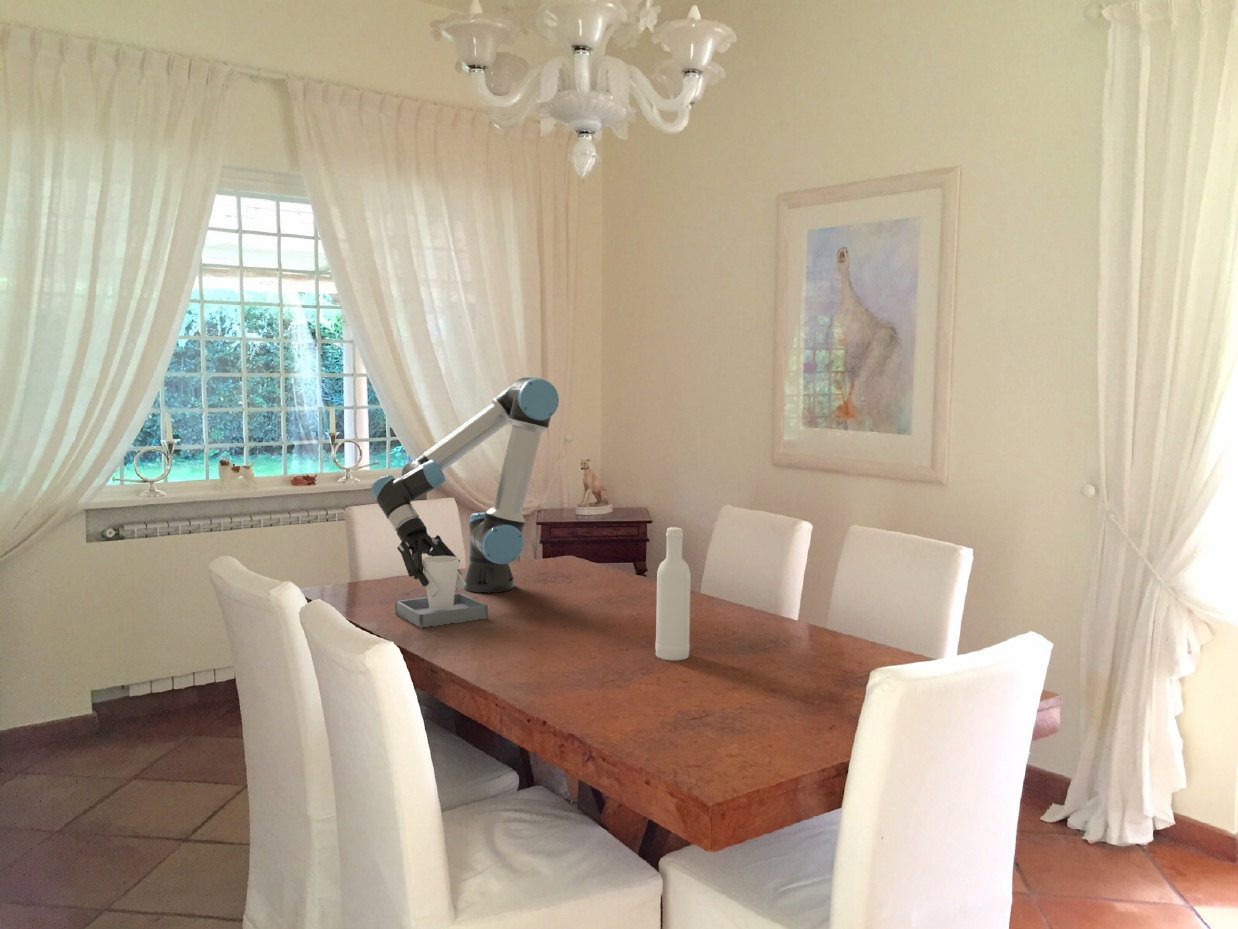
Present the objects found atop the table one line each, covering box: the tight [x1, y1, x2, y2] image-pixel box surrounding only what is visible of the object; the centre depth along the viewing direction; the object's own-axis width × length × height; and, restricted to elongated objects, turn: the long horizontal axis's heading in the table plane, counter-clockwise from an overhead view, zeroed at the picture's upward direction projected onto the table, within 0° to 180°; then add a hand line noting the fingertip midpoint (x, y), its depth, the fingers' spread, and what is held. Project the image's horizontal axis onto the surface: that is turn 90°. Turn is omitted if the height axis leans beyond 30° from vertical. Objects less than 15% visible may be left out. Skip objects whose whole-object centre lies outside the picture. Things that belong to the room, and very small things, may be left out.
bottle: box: [654, 526, 692, 662], centre depth 221 cm, size 8×8×30 cm
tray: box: [394, 592, 489, 628], centre depth 255 cm, size 19×17×4 cm
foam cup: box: [422, 556, 460, 610], centre depth 255 cm, size 10×9×13 cm
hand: (449, 590), depth 253 cm, fingers closed on foam cup, 9 cm apart
